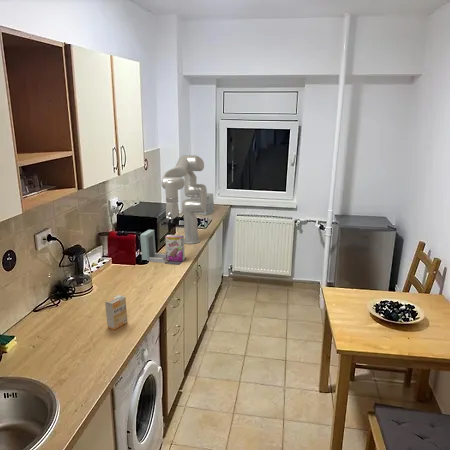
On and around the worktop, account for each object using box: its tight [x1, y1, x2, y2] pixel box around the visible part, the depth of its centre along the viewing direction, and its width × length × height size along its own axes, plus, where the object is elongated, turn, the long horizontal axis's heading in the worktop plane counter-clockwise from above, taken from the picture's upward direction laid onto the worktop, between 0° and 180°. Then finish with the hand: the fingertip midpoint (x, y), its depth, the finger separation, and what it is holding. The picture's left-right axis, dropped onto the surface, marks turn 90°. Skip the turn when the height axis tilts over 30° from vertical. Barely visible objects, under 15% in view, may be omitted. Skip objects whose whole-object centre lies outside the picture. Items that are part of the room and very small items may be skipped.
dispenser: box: [139, 229, 167, 264], centre depth 266 cm, size 12×16×18 cm
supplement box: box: [104, 294, 128, 331], centre depth 185 cm, size 8×5×13 cm, turn 148°
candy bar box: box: [164, 234, 186, 263], centre depth 262 cm, size 11×5×16 cm, turn 81°
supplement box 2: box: [190, 192, 215, 216], centre depth 382 cm, size 17×13×18 cm
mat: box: [164, 257, 187, 266], centre depth 264 cm, size 12×10×1 cm
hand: (173, 226), depth 259 cm, fingers open, 9 cm apart
